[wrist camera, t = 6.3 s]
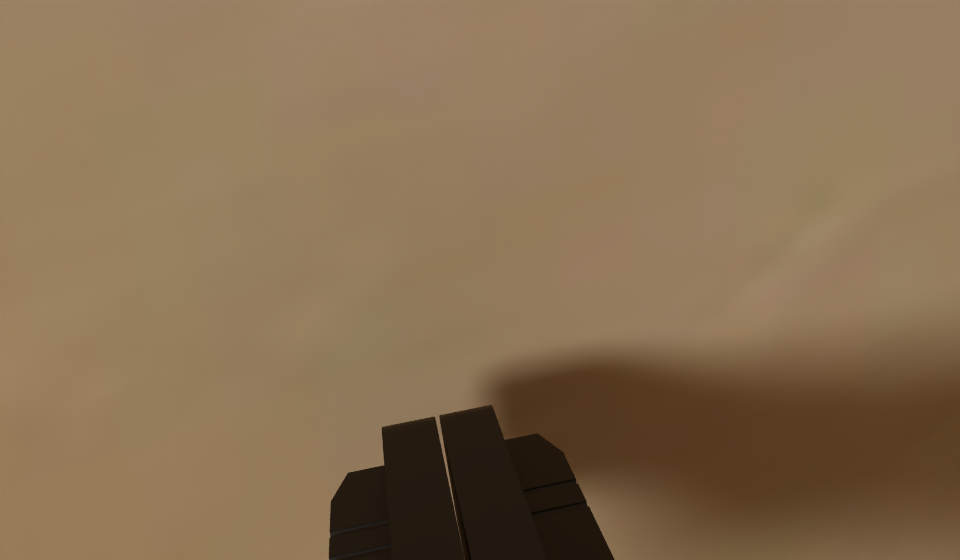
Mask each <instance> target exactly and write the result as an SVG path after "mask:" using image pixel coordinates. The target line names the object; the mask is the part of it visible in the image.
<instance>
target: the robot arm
mask: <svg viewBox="0 0 960 560" xmlns="http://www.w3.org/2000/svg"><path fill="white" fill-rule="evenodd" d="M439 417H440V424H441V430H442V436H443V442H444V447H445V453H446V459H447V465H448V471H449V476H450V482H451V488H452V494H453V500H454V505H455V511H456V516H455V511H454V506H453V501H452V497H451V492H450V487H449V482H448V477H447V473H446V468H445V463H444V458H443V453H442V449H441V444H440V439H439V434H438V429H437V425H436V420H435V417H430V418H425V419H420V420H415V421H410V422H405V423H400V424H395V425H390V426H385V427H382V439H383V452H384V466H379V467H374V468H369V469H364V470H359V471H355V472H350V473H348V474H347V475H346V477H345V479H344V480H343V482H342V484H341V485H340V487H339V489H338V491H337V492H336V494H335V496H334V497H333V499H332V501H331V514H330V536H331V538H330V541H329V560H614V558H613V556H612V553H611V551H610V549H609V547H608V545H607V543H606V541H605V539H604V537H603V535H602V533H601V531H600V528H599V526H598V524H597V522H596V520H595V518H594V516H593V514H592V512H591V510H590V508H589V507H588V506H587V503H586V499H585V497H584V495H583V493H582V491H581V489H580V487H579V485H578V484H577V483H576V478H575V476H574V474H573V472H572V470H571V468H570V466H569V464H568V462H567V460H566V458H565V455H564V453H563V452H562V451H560V450H559V449H558V448H556V447H555V446H554V445H552V444H551V443H550V442H548V441H547V440H545V439H544V438H543V437H541V436H540V435H539V434H533V435H528V436H523V437H518V438H513V439H508V440H504V437H503V434H502V431H501V429H500V426H499V423H498V420H497V418H496V415H495V412H494V409H493V407H492V405H488V406H483V407H478V408H473V409H469V410H464V411H459V412H454V413H449V414H444V415H439ZM456 517H457V521H456ZM457 522H458V525H457ZM458 528H459V530H458ZM459 533H460V535H459ZM460 538H461V540H460ZM461 543H462V545H461ZM462 548H463V549H462ZM463 553H464V554H463ZM464 558H465V559H464Z"/></svg>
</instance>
